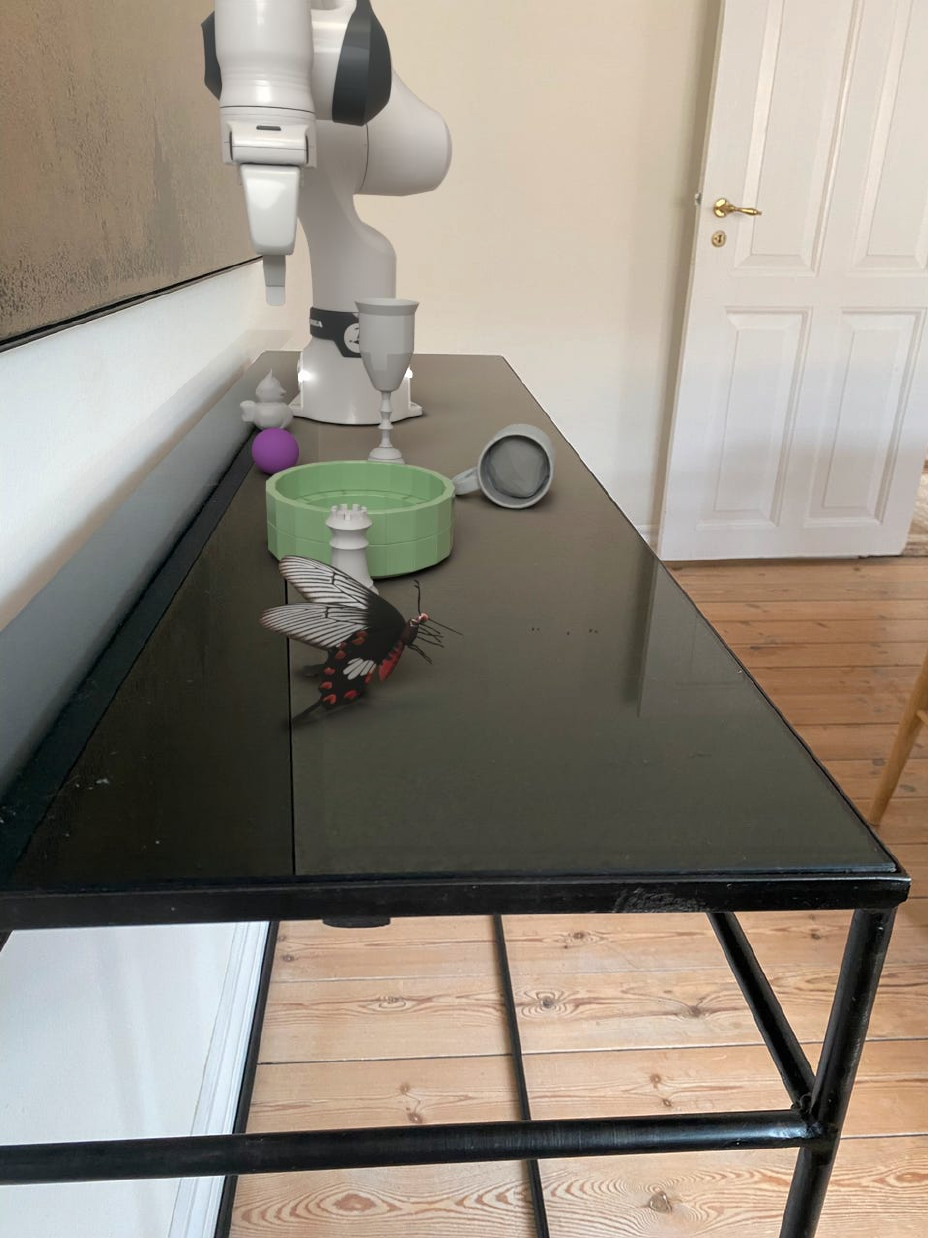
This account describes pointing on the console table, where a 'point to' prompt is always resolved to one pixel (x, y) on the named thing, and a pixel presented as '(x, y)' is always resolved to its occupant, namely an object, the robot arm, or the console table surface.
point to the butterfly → (342, 629)
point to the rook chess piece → (350, 542)
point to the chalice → (386, 356)
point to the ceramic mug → (512, 467)
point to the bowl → (396, 504)
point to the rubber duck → (268, 406)
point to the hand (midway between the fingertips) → (275, 300)
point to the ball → (275, 450)
